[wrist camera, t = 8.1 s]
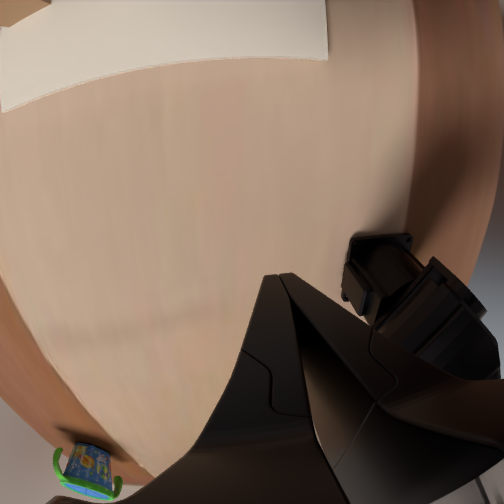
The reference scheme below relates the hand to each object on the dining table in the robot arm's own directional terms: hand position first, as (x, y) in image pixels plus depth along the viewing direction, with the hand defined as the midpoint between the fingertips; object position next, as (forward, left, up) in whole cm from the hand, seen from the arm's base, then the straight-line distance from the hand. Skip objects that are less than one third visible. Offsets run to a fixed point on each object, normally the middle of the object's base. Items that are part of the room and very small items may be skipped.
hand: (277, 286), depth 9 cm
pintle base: (+6, -16, -13) cm, 22 cm away
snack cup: (+32, +47, -13) cm, 59 cm away
